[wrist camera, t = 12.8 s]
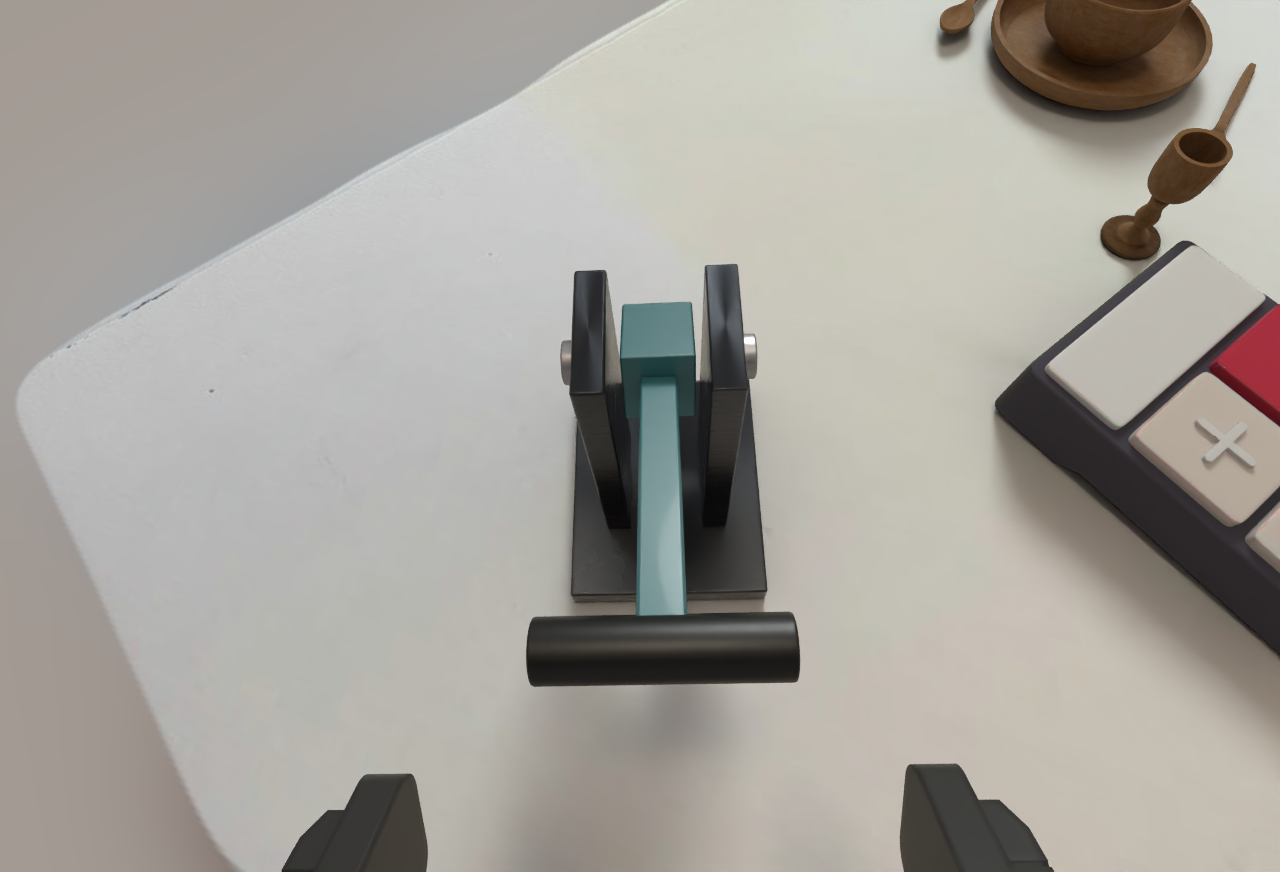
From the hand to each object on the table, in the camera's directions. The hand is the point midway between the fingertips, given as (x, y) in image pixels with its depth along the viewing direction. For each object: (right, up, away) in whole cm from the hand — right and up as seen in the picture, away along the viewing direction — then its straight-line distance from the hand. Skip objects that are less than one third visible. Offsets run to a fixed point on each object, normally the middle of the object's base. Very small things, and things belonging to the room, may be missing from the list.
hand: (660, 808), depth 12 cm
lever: (0, +4, +8) cm, 9 cm away
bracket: (+1, +4, +21) cm, 21 cm away
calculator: (+25, +5, +20) cm, 32 cm away
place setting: (+24, +26, +30) cm, 47 cm away
